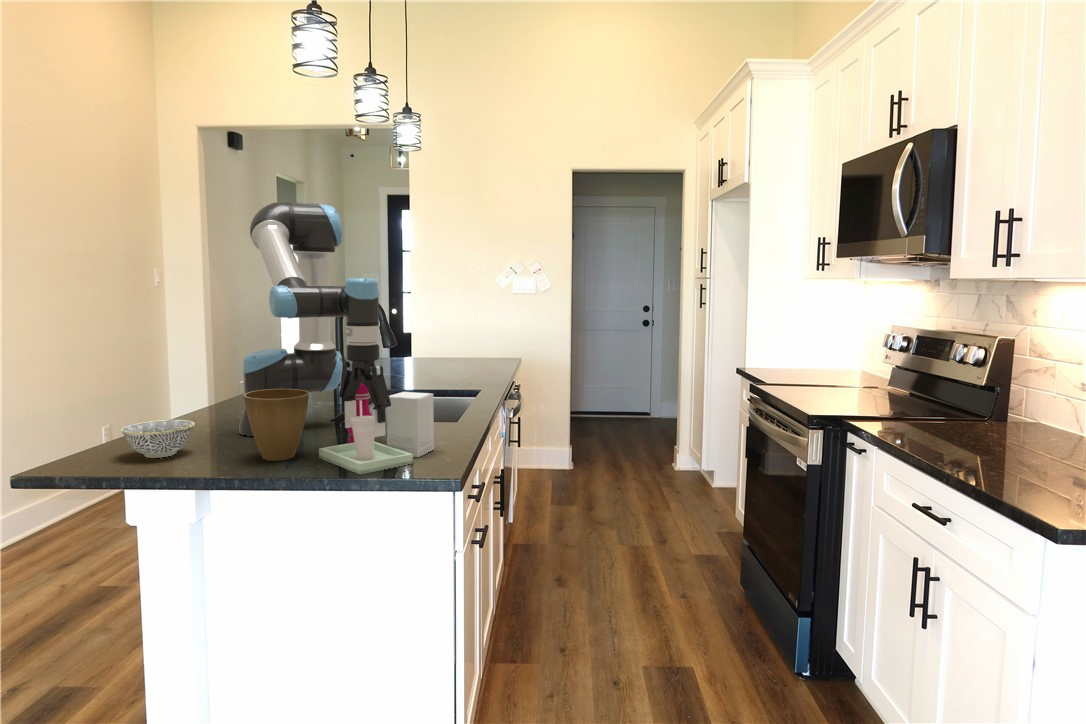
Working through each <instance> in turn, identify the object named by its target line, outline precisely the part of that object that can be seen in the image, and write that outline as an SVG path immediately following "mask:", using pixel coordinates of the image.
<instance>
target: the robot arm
mask: <svg viewBox="0 0 1086 724" xmlns="http://www.w3.org/2000/svg"><path fill="white" fill-rule="evenodd" d="M249 226H250V227H249V234H250V238H251V241H252V244H253V245H254V246H255V248H256V249H258V250H259V252H260V254H261V257H262V260H263V262H264V265H265V268H266V269H267V270H266V271H267V272H268V275H269V278H270V280H271V283H272V287H271V288H270V290H269V296H268V299H269V300H268V301H269V308H270V312H271V314H272V316H273V317H275V318H284V319H295V318H297V319H298V329H299V332H298V335H299V337H298V338H299V340H298V341H297V343H296V344H294V345H293V352H291V353H289V352H288V351H287V349H286V348H273V349H272V348H271V349H264V350H258V351H254V352H251V353H249V354H246V355H245V357H244V358H243V365H242V373H243V391H244V392H243V393H244V394H246V393H248V392H252V391H257V390H266V389H298V390H305V391H308V392H309V393H316V392H319V393H323V392H328V391H333V390H335V389H337V387H338V386H339V384H341V385H340V388H339V392H338V393H339V394H338V395H339V398H342V401H344V429H347V428H350V427H352V424H351V423H350V419H351V418H353V417H356V401H355V400H356V399H355V398H356V397H355V395H356V393H357V391H358V389H359V386H360V384H361V383H363V384H364V385H365V386H366V387H367V389H368V391H369V394H370V399H371V401H372V405H373V407H372V416H373V435H374V437H375V438H379V437H384V436H386V410H387V407H390V406H391V402H390V398H389V396H390V395H389V392H388V388H387V384H386V380H385V375H384V368H383V365H376V364H375V362H376V361H378V360H380V345H379V344H378V342H380V325H379V324H380V323H379V321H380V319H379V318H380V315H379V314H380V313H379V312H380V311H379V310H380V309H379V303H380V302H379V296H380V292H379V284H378V280H377V279H376V278H372V277H371V278H359V277H358V278H357V277H356V278H355V277H354V278H353V277H350V278H346V280H345V285H333V286H332V285H331V281H330V280H331V279H330V278H331V273H330V272H331V271H330V269H331V266H330V264H331V261H330V259H331V258H332V257H333V256H334V255H335V254H336V248H338V247H340V246H341V245H342V241H343V227H342V222H341V218H340V216H339V212H338V211H337V210H336V209H335V207H334V206H332V205H327V204H321V203H305V202H304V203H303V202H302V203H301V202H286V201H276V202H271V203H269V204H267V205H265V206H264V207H263V206H262V208H260V209H259V210H258V211H257V212H256V214H255V215H254V217H253V218H252V220H251V222H250V225H249ZM296 256H297V258H296ZM297 260H298V261H297ZM332 317H333V318H338V317H339V318H341V317H342V318H344V317H345V320H346V322H345V325H346V329H345V334H346V342H347V343H349V344H347V345H346V359H347V360H348V361H345V362H344V363H343V356H342V354H341V352H340V351H337V350H336V345H335V344H334V343H333V342H332V340H331V318H332ZM343 364H344V371H343ZM342 374H343V376H342ZM341 379H342V380H341ZM340 382H341V383H340ZM244 394H243V395H244ZM352 400H353V401H352ZM238 433H240V434H243V435H247V436H246V437H250V436H253V433H252V430H251V426H250V423H249V419H248V415H247V410H246V405H245V404H244V407H243V410H242V414H241V419H240V421H239V423H238ZM240 434H239V435H240ZM243 435H242V436H243Z"/></svg>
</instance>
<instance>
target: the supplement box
mask: <svg viewBox="0 0 1086 724" xmlns="http://www.w3.org/2000/svg"><path fill="white" fill-rule="evenodd" d="M389 398H390V402H391V406H390V407H387V408H386V437H387V438H386V446H389V447H393V448H396V449H399V450H402V451H405V452H408V453H411V454H413V458H420V457H422V456H424V455H427V454H429V453H430V451H431V452H433V451H434V450H435V423H434V415H435V413H434V412H435V410H434V393H429V392H412V391H411V392H410V391H402V392H398V393H395V394H390V395H389ZM432 450H433V451H432ZM428 452H429V453H428Z"/></svg>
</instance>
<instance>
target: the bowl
mask: <svg viewBox="0 0 1086 724" xmlns="http://www.w3.org/2000/svg"><path fill="white" fill-rule="evenodd" d="M195 425H196V424H195V421H192V420H187V419H160V420H159V419H158V420H151V421H144V422H138V423H133V424H130V425H126V426H123V428H121V429H120V432H121V433H122V435H123V436H124V438H125V439H126V442H127V443H128V444H129V447H131V448H132V450H134V451H135V452H137V453H139V454H142V455H143V457H144V456H145V457H153V458H154V457H166V456H171V455H174V454H176V455H177V452H178V451H179V450H181V449H182V448H184V446H186V445H187V443H188V441H189V439H190V436H191V433H192V431H193V428H194V426H195ZM174 456H175V455H174ZM145 457H144V458H145ZM171 457H172V456H171Z"/></svg>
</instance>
